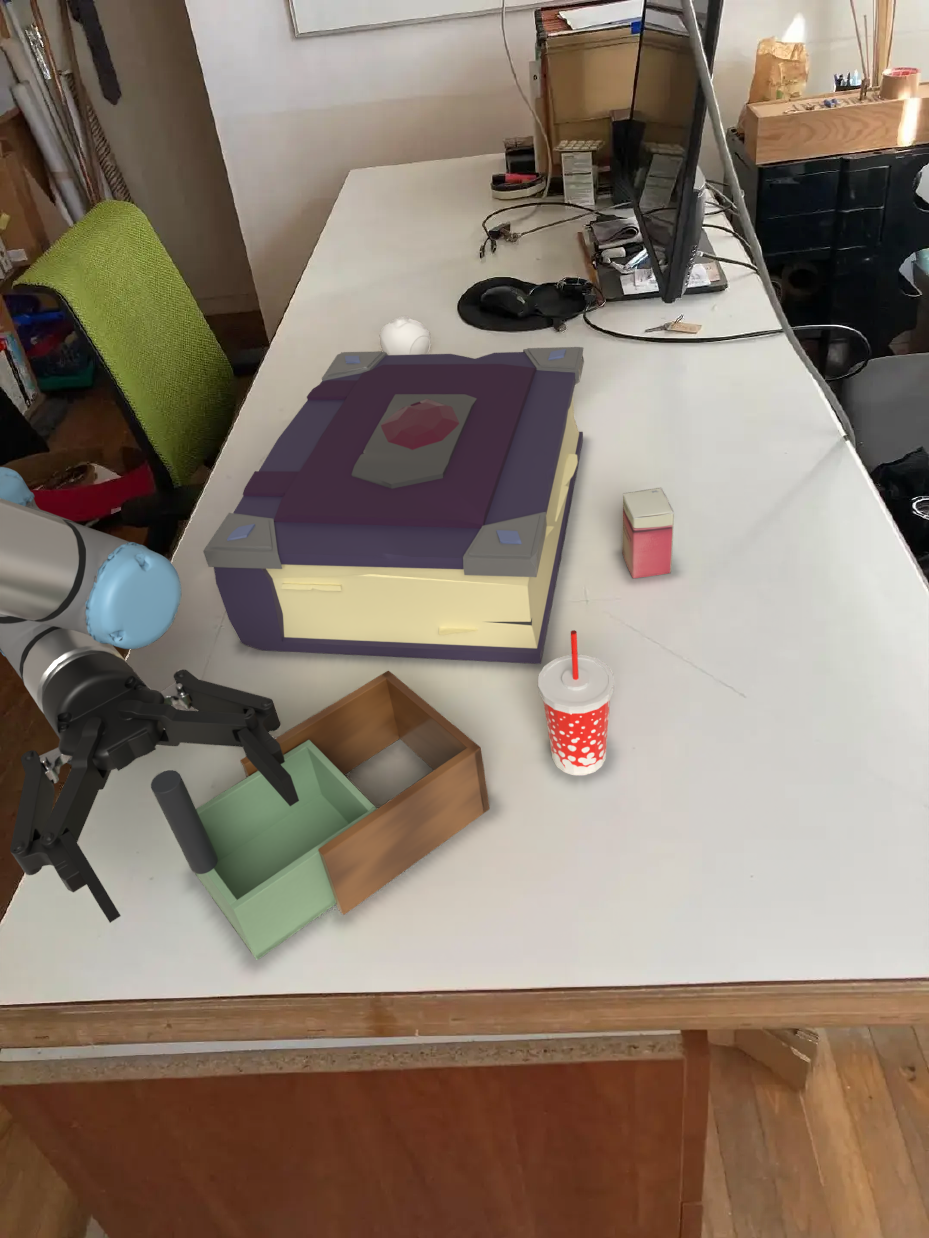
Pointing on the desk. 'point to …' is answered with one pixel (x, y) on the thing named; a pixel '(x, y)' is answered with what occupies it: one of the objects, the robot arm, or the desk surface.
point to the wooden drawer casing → (415, 813)
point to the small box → (647, 532)
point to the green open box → (265, 844)
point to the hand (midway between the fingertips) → (203, 846)
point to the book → (410, 510)
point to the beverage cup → (577, 709)
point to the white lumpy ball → (405, 337)
